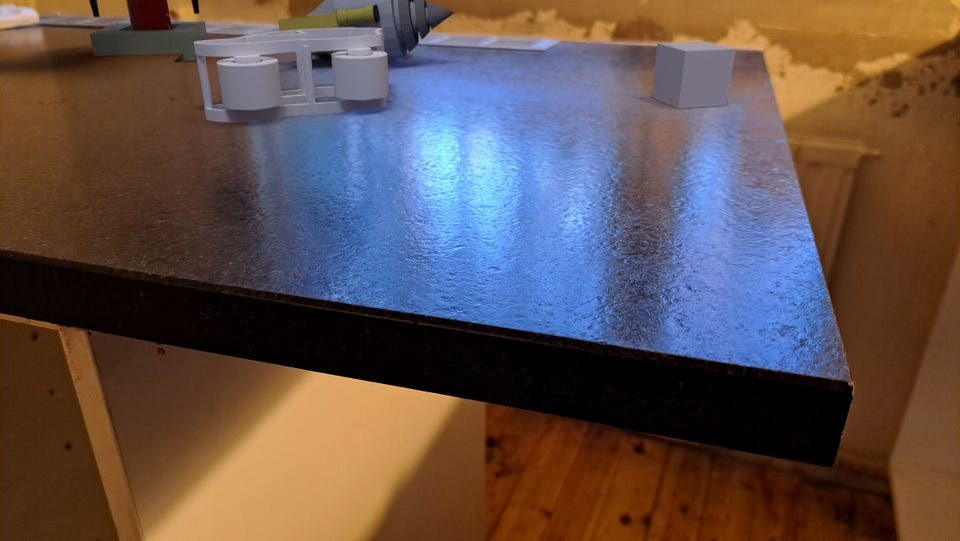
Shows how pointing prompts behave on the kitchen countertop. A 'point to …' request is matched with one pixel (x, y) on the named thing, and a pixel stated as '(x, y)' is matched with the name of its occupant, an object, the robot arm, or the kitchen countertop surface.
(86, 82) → the kitchen countertop surface
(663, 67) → the gray cube
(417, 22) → the ray gun
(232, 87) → the wheeled car silhouette
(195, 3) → the robot arm
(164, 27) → the soda can
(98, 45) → the holder
